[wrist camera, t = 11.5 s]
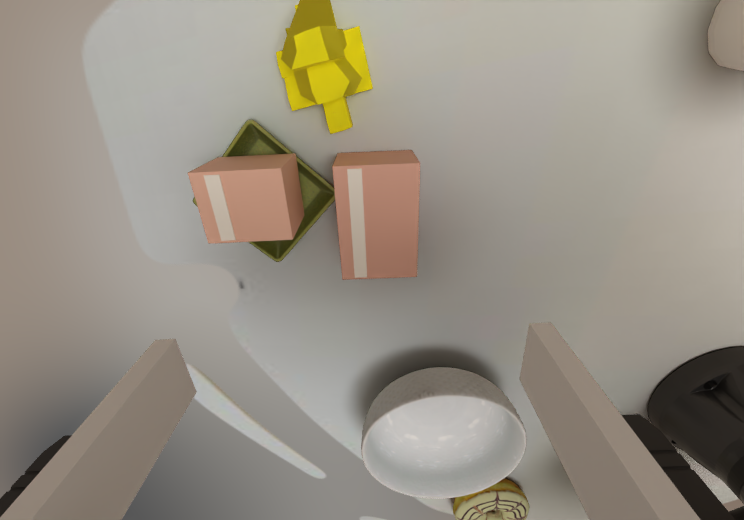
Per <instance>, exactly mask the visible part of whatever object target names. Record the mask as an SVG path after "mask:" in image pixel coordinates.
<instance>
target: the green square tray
mask: <svg viewBox="0 0 744 520" xmlns="http://www.w3.org/2000/svg"><path fill="white" fill-rule="evenodd" d="M274 154H293V153H292V152H291V151H289V150H288V149H287V148H286V147H285V146H283V145H282V144H281V143H280V142H279V141H278V140H276V139H275V138H274V137H273V136H272V135H270V134H269V133H268V132H267V131H266V130H265V129H263V128H262V127H261V126H260V125H259V124H258V123H256V122H255V121H254V120H248V121H246V122H245V124H244V125H243V126H242V128H241V129H240V131H239V132H238V134H237V135H236V137H235V138H234V140H233V141H232V143H231V144H230V146H229V147H228V149H227V150H226V152H225V153H224V155H223V156H222V157H233V156H254V155H274ZM296 160H297V167H298V173H299V180H300V187H301V194H302V201H303V208H304V217H303V219H302V221H301V224H300V226H299V228H298V230H297V232H296V234H295V236H294V238H293V240H274V241H252V242H249V243H250V244H252V245H253V246H255V247H256V248H257V249H259V250H260V251H261V252H263V253H264V254H266V255H267V256H269V257H270V258H271V259H273V260H274V261H276V262H279V261H281V260H283V259H284V257H285V256H286V255H287V254H288V253H289V252H290V251H291V249H292V248H293V247H294V246H295V245H296V244H297V242H298V241H299V240H300V239H301V238H302V237H303V236H304V234H305V233H306V232H307V231H308V230H309V229H310V228H311V226H312V225H313V224H314V223H315V222H316V221H317V220H318V219H319V217H320V216H321V215H322V214H323V213H324V212H325V211H326V209H327V208H328V207H329V206H330V205H331V204H332V203H333V202H334V200H335V190H334V187H332V186H331V185H330V184H329V183H328V182H327V181H325V180H324V179H323V178H322V177H321V176H319V175H318V174H317V173H316V172H315V171H313V170H312V169H311V168H310V167H309V166H307V165H306V164H305V163H304V162H303V161H302V160H300V159H299V158H298V157H297V156H296ZM193 202H194V204H195V205H196V206H197V202H196V199H195V197H194V198H193ZM197 207H198V206H197Z"/></svg>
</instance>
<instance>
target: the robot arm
mask: <svg viewBox="0 0 744 520" xmlns="http://www.w3.org/2000/svg"><path fill="white" fill-rule="evenodd" d="M520 381H521V383H522V385H523V387H524V389H525V391H526V393H527V395H528V397H529V399H530V401H531V403H532V405H533V407H534V409H535V411H536V413H537V415H538V417H539V419H540V421H541V423H542V425H543V427H544V429H545V431H546V433H547V435H548V437H549V439H550V441H551V443H552V445H553V447H554V449H555V451H556V453H557V455H558V457H559V459H560V461H561V463H562V465H563V467H564V469H565V471H566V473H567V475H568V477H569V479H570V481H571V483H572V485H573V487H574V489H575V491H576V493H577V495H578V497H579V499H580V501H581V503H582V505H583V507H584V509H585V511H586V513H587V515H588V517H589V519H590V520H744V506H742V507H740V508H737V509H735V510H732V511H729V512H728V510H727V509H726V508H725V507H724V506H723V505H722V503H721V502H720V501H719V500H718V499H717V497H716V496H715V495H714V494H713V493H712V491H711V490H710V489H709V488H708V487H707V485H706V484H705V483H704V482H703V481H702V479H701V478H700V477H699V476H698V475H697V474H696V472H695V471H694V470H691V468H690V465H689V464H688V463H687V462H686V460H685V459H684V458H683V457H682V456H681V454H678V453H677V451H676V449H675V447H677V448H679V449H682V450H683V451H685V452H686V453H687V454H688V455H689V456H690V457H692V458H693V459H694V460H695V461H697V462H698V463H699V464H701V465H702V466H703V467H705V468H706V469H707V470H709V471H710V472H712V473H713V474H714V475H716V476H717V477H718V478H720V479H721V480H722V481H723V482H724V483H725V484H726V485H727V486H728V487H729V488H730V489H731V490H732V491H733V492H734V494H735V495H736V496H737V497H738V498H739V499H740V500H741V501H742V503H743V504H744V347H734V348H728V349H723V350H719V351H715V352H712V353H709V354H706V355H704V356H701V357H699V358H697V359H695V360H693V361H691V362H689V363H687V364H685V365H683V366H682V367H680V368H679V369H677V370H676V371H674V372H673V373H672V374H671V375H669V376H668V377H667V378H666V379H665V380H664V381H663V382H662V383H661V384H660V385H659V386H658V388H657V389H656V390H655V392H654V393H653V395H652V397H651V399H650V402H649V406H648V415H649V418H650V420H651V422H652V423H653V425H652V424H651V423H650V422H649V421H647V420H646V419H645V418H643V417H642V416H641V415H621V414H620V413H619V411H618V410H617V409H616V408H615V406H614V405H613V404H612V402H611V401H610V400H609V398H608V397H607V396H606V394H605V393H604V392H603V390H602V389H601V388H600V386H599V385H598V384H597V382H596V381H595V380H594V379H593V377H592V376H591V375H590V373H589V372H588V371H587V369H586V368H585V367H584V365H583V364H582V363H581V361H580V360H579V359H578V357H577V356H576V355H575V353H574V352H573V351H572V350H571V348H570V347H569V346H568V344H567V343H566V342H565V340H564V339H563V338H562V336H561V335H560V334H559V332H558V331H557V330H556V328H555V327H554V326H553V324H552V323H551V322H549V323H530V324H529V329H528V335H527V340H526V346H525V352H524V357H523V363H522V368H521V374H520ZM195 394H196V389H195V387H194V384H193V382H192V379H191V377H190V374H189V372H188V369H187V367H186V364H185V362H184V360H183V357H182V354H181V352H180V349H179V347H178V344H177V342H176V339H165V340H155V341H154V342H153V343H152V344H151V346H150V347H149V348H148V349H147V350H146V351H145V352H144V354H143V355H142V356H141V357H140V358H139V360H138V361H137V362H136V363H135V364H134V365H133V366H132V367H131V368H130V370H129V371H128V372H127V373H126V374H125V375H124V377H123V378H122V379H121V380H120V381H119V382H118V383H117V384H116V386H115V387H114V388H113V389H112V390H111V391H110V392H109V394H108V395H107V396H106V397H105V398H104V399H103V400H102V402H101V403H100V404H99V405H98V406H97V408H96V409H95V410H94V411H93V412H92V413H91V414H90V415H89V417H88V418H87V419H86V420H85V421H84V422H83V423H82V424H81V426H80V427H79V428H78V429H77V430H76V431H75V432H74V434H73V435H71V436H63V437H62V438H61V439H60V440H58V441H57V442H56V443H54V444H53V445H52V446H50V447H49V448H48V449H47V450H45V451H44V452H43V453H42V454H41V455H40V456H39V457H38V458H37V459H36V460H35V461H34V463H33V464H32V465H31V466H30V467H29V468H28V469H27V470H26V471H25V472H26V473H25V475H22V476H21V477H20V478H19V479H18V480H17V481H16V483H14V485H13V486H12V487H11V490H10V491H9V492H6V493H5V494H4V495H3V496H2V498H1V499H0V520H121V519H122V518H123V516H124V515H125V513H126V511H127V509H128V508H129V506H130V504H131V503H132V501H133V499H134V498H135V496H136V494H137V492H138V491H139V489H140V487H141V486H142V484H143V482H144V481H145V479H146V477H147V475H148V474H149V472H150V470H151V469H152V467H153V465H154V464H155V462H156V460H157V458H158V457H159V455H160V453H161V452H162V450H163V448H164V447H165V445H166V443H167V441H168V440H169V438H170V436H171V435H172V433H173V431H174V430H175V428H176V426H177V424H178V422H179V421H180V419H181V417H182V416H183V414H184V413H185V411H186V409H187V407H188V406H189V404H190V402H191V401H192V399H193V397H194V396H195ZM672 444H673V445H674V446H675V447H674V446H673V445H672Z"/></svg>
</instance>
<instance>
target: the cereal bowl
mask: <svg viewBox="0 0 744 520" xmlns="http://www.w3.org/2000/svg"><path fill="white" fill-rule="evenodd" d="M526 442H527V438H526V431H525V428H524V426H523V423H522V421H521V419H520V417H519V415H518V414H517V412H516V409H515V408H514V407H513V405H512V403H511V402H510V401H509V399H508V398H507V397H506V396H505V395H504V393H503V392H502V391H501V390H500V389H499V388H498V387H497V386H495V385H494V384H493V383H492V382H490V381H488V380H487V379H485V378H483V377H482V376H479V375H477V374H476V373H472V372H469V371H465V370H463V369H457V368H447V367H435V368H427V369H422V370H418V371H414V372H411V373H409V374H406V375H405V376H402V377H400V378H398V379H396V380H395V381H393V382H392V383H390V384H389V385H388V386H387V387H385V388H384V389H383V390H382V391H381V392H380V394H379V395H378V396H377V397H376V398H375V400H374V401H373V402H372V405H371V406H370V408H369V411H368V412H367V416H366V419H365V422H364V425H363V431H362V444H361V449H362V458H363V462H364V464H365V466H366V468H367V469H368V471H369V472H370V473H371V475H373V477H374V478H375V479H377V481H379V482H380V483H382V484H383V485H385V486H386V487H388V488H390V489H392V490H394V491H397V492H399V493H402V494H406V495H409V496H414V497H421V498H431V499H444V498H454V497H460V496H465V495H469V494H473V493H476V492H479V491H482V490H484V489H486V488H488V487H490V486H492V485H494V484H496V483H498V482H499V481H501V480H502V479H504V478H505V477H506V476H508V475H509V474H510V473H511V472H512V471H513V470H514V469H515V468H516V467H517V465H518V464H519V462H520V461H521V459H522V457H523V455H524V452H525V449H526Z"/></svg>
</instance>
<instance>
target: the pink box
mask: <svg viewBox="0 0 744 520" xmlns="http://www.w3.org/2000/svg"><path fill="white" fill-rule="evenodd" d="M188 175H189V179H190V182H191V185H192V189H193V192H194V196H195V199H196V202H197V206H198V209H199V213H200V216H201V219H202V223H203V226H204V229H205V233H206V236H207V240H208V243H231V242H252V241H274V240H293V238H294V236H295V234H296V232H297V230H298V228H299V226H300V224H301V221H302V219H303V217H304V208H303V201H302V194H301V187H300V180H299V173H298V167H297V160H296V153H294V154H274V155H254V156H233V157H218V158H216V159H214V160H212V161H210V162H208V163H206V164H204V165H202V166H200V167H198V168H196V169H194V170H192V171H190V172H188Z"/></svg>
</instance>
